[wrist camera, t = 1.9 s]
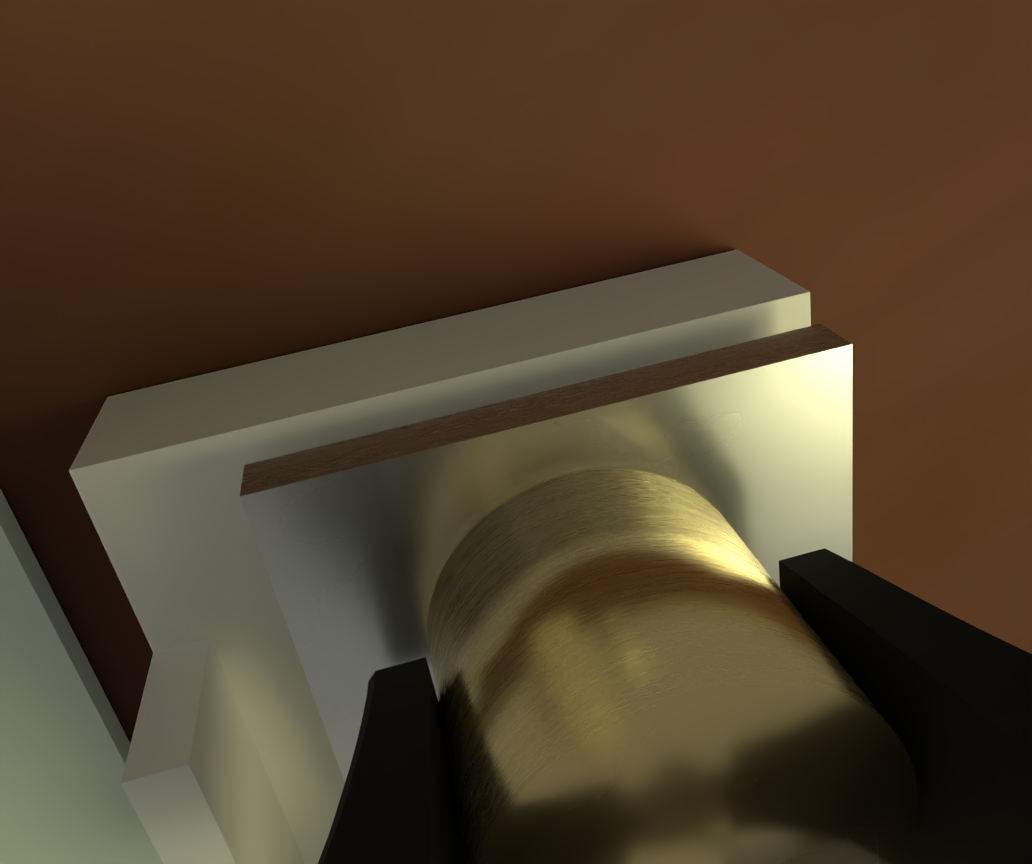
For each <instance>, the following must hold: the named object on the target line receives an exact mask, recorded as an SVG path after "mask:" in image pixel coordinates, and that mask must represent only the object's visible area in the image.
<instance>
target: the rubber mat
mask: <svg viewBox="0 0 1032 864" xmlns="http://www.w3.org/2000/svg"><path fill="white" fill-rule="evenodd" d="M129 748H130V742H129V740H128V738H127V736H126V734H125V732H124V730H123V728H122V726H121V724H120V722H119V720H118V718H117V716H116V714H115V712H114V710H113V708H112V707H111V705H110V703H109V701H108V699H107V697H106V695H105V693H104V691H103V689H102V687H101V685H100V683H99V681H98V679H97V677H96V675H95V673H94V671H93V669H92V667H91V665H90V663H89V661H88V659H87V658H86V656H85V654H84V652H83V650H82V648H81V646H80V644H79V642H78V640H77V638H76V636H75V634H74V632H73V630H72V628H71V626H70V624H69V622H68V620H67V618H66V616H65V614H64V612H63V610H62V608H61V607H60V605H59V603H58V601H57V599H56V597H55V595H54V593H53V591H52V589H51V587H50V585H49V583H48V581H47V579H46V577H45V575H44V573H43V571H42V569H41V567H40V565H39V563H38V561H37V559H36V558H35V556H34V554H33V552H32V550H31V548H30V546H29V544H28V542H27V540H26V538H25V536H24V534H23V532H22V530H21V528H20V526H19V524H18V522H17V520H16V518H15V516H14V514H13V512H12V510H11V508H10V507H9V505H8V503H7V501H6V499H5V497H4V495H3V493H2V491H1V489H0V864H163V862H162V860H161V858H160V856H159V855H158V853H157V851H156V849H155V847H154V845H153V843H152V841H151V840H150V838H149V836H148V834H147V832H146V830H145V828H144V826H143V825H142V823H141V821H140V819H139V817H138V815H137V813H136V811H135V809H134V808H133V806H132V804H131V802H130V800H129V798H128V796H127V794H126V793H125V791H124V789H123V787H122V785H121V780H122V776H123V772H124V768H125V764H126V760H127V756H128V752H129Z"/></svg>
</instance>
